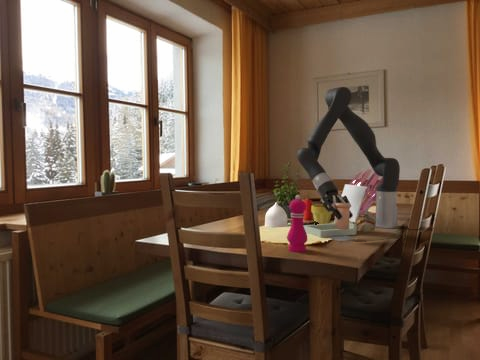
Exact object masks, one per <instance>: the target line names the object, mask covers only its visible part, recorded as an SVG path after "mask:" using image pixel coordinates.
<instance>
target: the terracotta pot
mask: <svg viewBox="0 0 480 360" xmlns="http://www.w3.org/2000/svg"><path fill="white" fill-rule="evenodd" d="M335 206H336V207H337V209H338V211H339V212H340V214H341V215H342V218H341V219H340V220H338V219H337V218H336V217H335V216H334V220H335V228H336V229H349V223H350V221H349V218H350V207H351V204H350V203H335Z"/></svg>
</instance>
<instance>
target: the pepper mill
mask: <svg viewBox="0 0 480 360" xmlns="http://www.w3.org/2000/svg"><path fill="white" fill-rule="evenodd" d="M306 209H307V204H306V202H305V200H302V199H301V195H299V194H296V195H295V199H293V200H291V201H290V203H289V210H290V211H291V212H290V218H291V226H290V228H289V230H288V233H287V236H286V237H287V241H288V243H289V244H288V251H289V252H292V253H293V252H295V253H302V252H306V250H307V246H306V242H308V235H307V234H308V233H306V231H305V229H304V226H303V225H304V218H305V217H306V216H305V213H304V212H306Z"/></svg>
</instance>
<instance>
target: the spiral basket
mask: <svg viewBox="0 0 480 360" xmlns="http://www.w3.org/2000/svg"><path fill="white" fill-rule="evenodd" d="M372 171H373V168H368V169H366V170H365V171H364V173H363V171H362V170H360V171H358V172H357V173H356V174H355V175H354V177H353V178H352V180H351V181H350V183H348V184H347V185H357V186H366V187H367V188H366V191H365V194H364V198H363V201H362V204H361V207H360V210H359V214H358V217H362V216H363V214H364V213H365V212H366V211H369V209H370V208H371V207H372V206H373V204H374V203H376V188H377V185H378V184H380V183H381V182H382V180H383V177H381V176H378V175H377V174H376V173H375V172H374V171H373V173H372ZM371 173H372V174H371ZM370 174H371V175H370ZM369 176H370V177H369ZM359 177H360V178H359ZM380 177H381V178H380ZM378 179H379V180H378ZM366 180H367V181H366ZM377 181H378V182H377ZM364 183H365V184H364ZM369 212H370V213H371V215H372V216H374V217H375V218H376V212H371V211H369ZM363 217H364V216H363Z"/></svg>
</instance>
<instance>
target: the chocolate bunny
mask: <svg viewBox="0 0 480 360" xmlns="http://www.w3.org/2000/svg"><path fill="white" fill-rule="evenodd" d="M370 212H371V211H369V210H367V211H366V212H365V213H364V214H363V217H364V219H365V221H364V222H363V223H361V224H360V226H359V227H358V229H357V231H358V232H371V233H375V228H376V227H377V226H376V218H375V217H374V216H375V215H371V213H370Z"/></svg>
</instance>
